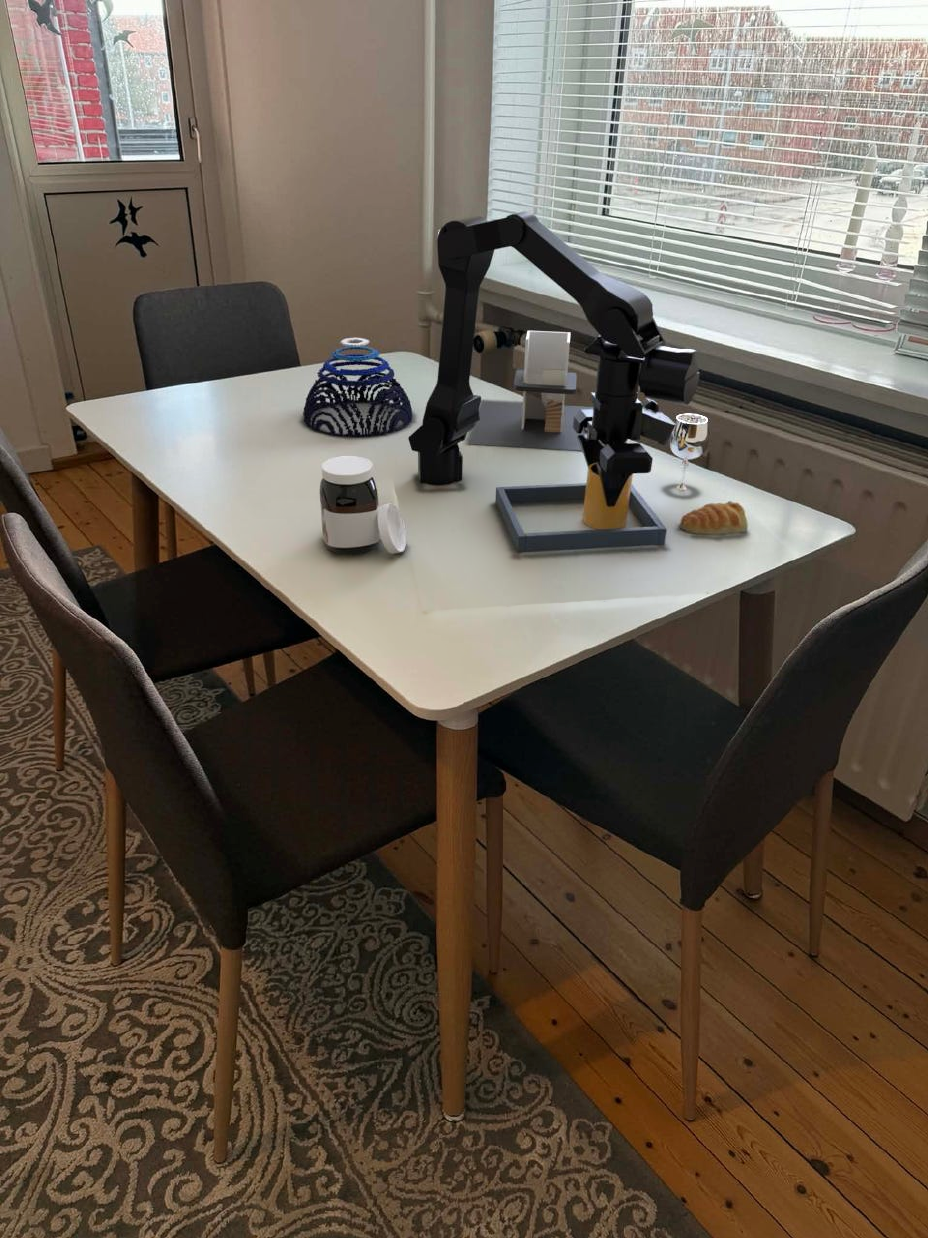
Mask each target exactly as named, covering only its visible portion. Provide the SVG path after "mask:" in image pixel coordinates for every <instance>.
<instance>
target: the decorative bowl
mask: <svg viewBox="0 0 928 1238" xmlns="http://www.w3.org/2000/svg"><path fill="white" fill-rule="evenodd" d="M352 342H353V343H352ZM370 343H371V342H370V340H369V339H367V338H362V337H349V338H347V337H346V338H344V339H341V340H340V342H339V344H341V345H342V346H344V347H341V348H338V349H335V350H333V352H331V356H332V357H331V358H329V359H327V360H326V361H325V362H324V363H323V364H322V367H321V368H320V369H318V372H317V377H318V379H315V382H314V383H313V385H312V386H311V387H310V390H309V391H308V394H307V397H306V398H305V402H304V407H303V412H302V414H303V423H305V425H306V427H307V428H310V429H311V430H313V431H315V432H317V433H322V434H326V435H330V436H333V437H335V436H337V437H345V438H365V437H367V438H369V437H375V436H376V437H377V436H383V435H384V436H385V435H387V434H390V433H395V432H399V431H400V430H403V429H405V428H406V427H407V426H409V425H410V424H411V423H412V421H413V409H412V405H411V400H410V399H409V396H408V395H407V392H406V391H405V389H404V388H403V387H402V385H401V383H400V382H398V381H397V379H396V378H394V377H395V369H393V368H391V366H390V364H389V362H388V361H387V360H386V359H384V358H382V357H380V356H379V355H380V352H379V351H378V350H376V349H374V348H373V347H369V346H366V345H368V344H370ZM350 350H365V351H369V352H370V353H369V354H366V353H365V354H363V353H348V354H342V353H341V352H343V351H350ZM339 360H341V361H340V362H339ZM370 360H375V361H370ZM334 361H336V362H334ZM337 361H338V362H337ZM376 361H378V362H376ZM332 362H333V363H332ZM344 366H345V367H346V366H370V368H361V369H358V368H357V369H348V368H340V369H338V367H344ZM386 370H387V371H388V372H387V373H384V372H385V371H386ZM324 372H328V373H324ZM348 376H351V377H353V376H354V377H357V376H358V379H357V380H348ZM338 378H339V379H338ZM334 385H335V386H337V387H338V389H336V388H335V386H334ZM344 387H345V388H346V389H345V388H344ZM339 391H340V392H339ZM371 391H372V392H371ZM365 392H366V393H365ZM370 392H371V393H370ZM322 393H324V394H322ZM369 393H370V395H369ZM375 393H376V395H375ZM358 395H359V396H358ZM374 395H375V396H374ZM327 399H328V400H329V401H327ZM391 401H392V402H391ZM357 403H370V406H369V408H368V411H367V414H366V418H363V414H362V411H361V410H360V409H359V408H358V405H357ZM338 405H339V407H338ZM379 405H380V406H379ZM376 406H379V407H378V410H377V411H375V410H376ZM327 407H329V408H330V409H332V410H333V411H334V412H335V413H337V417H338V419H339V420H340V421H341V423H342V422H343V427H345V429H343V428H342V426H341V423H340V422H339V420H338V419H337V418H336V417H335V416H334V415H333V413H331V412H327V411H323V410H320V409H322V408H327ZM391 407H393V408H391ZM340 408H341V409H342V411H344V412H345V414H346V415H347V416H348V417H349V421H350V424H351V425H352V428H351V425H349V423H348V420H347V419H346V418H345V416H344V414H343V413H342V412H341V409H340ZM350 408H351V410H352V411H351V410H350ZM389 409H390V410H389ZM398 409H400V410H398ZM318 410H320V411H318ZM395 410H398V411H395ZM316 411H318V412H316ZM315 412H316V413H315ZM375 412H376V413H375ZM314 413H315V414H314ZM393 413H394V414H393ZM313 414H314V415H313ZM386 414H387V415H386ZM322 415H323V416H327V417H330V418H331V420H332V421H333V423H335V426H336V427H337V429H338V433H336V430H335V426H334V425H333V424H332V422H331V421H330V420H326V419H322V418H319V417H320V416H322ZM374 415H375V417H374ZM354 416H355V417H356V419H357V420H359V421H356V420H355V417H354ZM385 416H386V417H385ZM318 418H319V419H318ZM373 418H374V422H373V427H372V420H373ZM384 418H385V419H384ZM364 420H365V421H364ZM400 421H401V422H402V425H401V426H398V425H399V422H400ZM378 424H379V425H378ZM323 425H324V426H325V427H326V429H328V431H325V430H322V429H320V428H322V426H323ZM358 426H359V428H360V429H361V431H359V429H358ZM344 430H346V431H347V433H344Z"/></svg>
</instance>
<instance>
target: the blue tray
mask: <svg viewBox="0 0 928 1238" xmlns="http://www.w3.org/2000/svg"><path fill="white" fill-rule="evenodd" d="M585 491H586V482H580V483H561V484H559V483H558V484H537V485H514V486H496V487H495V504H496V506H497V508H498V510H499V514H500V516H501V518H502V520H503V522H504V525H505V526H506V529H507V531H508V533H509V536H510V538H511V540H512V542H513V545H514V547H515V550H516V553H518V554H521V553H538V552H555V551H573V550H574V551H575V550H593V549H594V550H595V549H611V548H612V549H613V548H628V547H647V546H648V547H649V546H665V544H666V538H667V537H666V536H667V531H668V529H667V527H666V526H665V525H664V523H663V522H662V521H661V520H660V518H659V516H657V514H656V513H655V511H654V510H652V508H651V506H650V505H649V504H648V502H646V500H645V499H644V498H643V496H642V495H641V494H640V493H639V491H638V490H637V488H636V487H635V486H634V485H633V483H632V484H631V491H630V499H629V506H628V507H629V508H630V509H631V510H632V513H634V515H635V516H636V518H637V519H638V520H639V522H640V523H641V524H642V526H639V527H638V526H637V527H622V528H616V529H581V530H563V531H562V530H561V531H543V532H542V531H541V532H540V531H539V532H525V531H524V530H523V527H522V525H521V523H520V521H519V519H518V517H517V515H516V513H515V510H514V509H513V506H512V505H513V504H515V505H516V504H537V503H539V504H540V503H559V502H578V501H579V502H580V501H584V500H585Z"/></svg>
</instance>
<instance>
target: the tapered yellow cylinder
mask: <svg viewBox="0 0 928 1238" xmlns="http://www.w3.org/2000/svg"><path fill="white" fill-rule="evenodd" d="M633 476H634V474H632V475H631V476H630V477H629V478H628V480H627V482H626V483H625V485H624V487H623V490H622V492H621V494H620V496H619V498H618V500H617V502H616V504H615V506H613V507H608V506H607V505H606V501H605V497H604V493H603V489H602V484H601V480H600V476H599V472H598V468H597V464H596V463H593V464H591V465H590V466H589V467H587V473H586V482H585V483H586V491H585V500H583V509H582V510H583V511H582V518H581V519H582V522H583V523H584V524H585V525H586V526H588V527H590V528H592V529H594V530H597V529H616V528H625V527H626V526H627V525H626V524H627V519H628V512H629V507H630V506H629V499H630V491H631V484H632V485H633Z"/></svg>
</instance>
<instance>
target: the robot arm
mask: <svg viewBox="0 0 928 1238" xmlns="http://www.w3.org/2000/svg"><path fill="white" fill-rule="evenodd" d="M509 247H511V248H513V249H515V250H516V251H517V252H518V253H519V254H520V255H522V256H523V257H524V258H525V259H527V261H529V262H530V263H531V264H532V265H533V266H535V267H536V268H537V269H538V270H539V271H541V272H542V273H543V274H544V275H545V276H546V277H548V278H549V279H550V280H551V281H552V282H553V283H555V284H556V285H557V286H559V288H561V289H562V290H563V291H564V292H565V293H567V294H568V296H570V297H571V298H572V299H574V300H575V301H576V303H577V304H578V305H579V306H580V308H581V310H582V311H583V314H584V316H585V318H586V320H587V322H588V323H589V324H590V325H591V327H592V328H593V329H594V330H595V331H596V333H597V334H598V336H596V337H595V339H594V340H593V342H591V344H589V345H588V346H586V347H585V348H584V349H583V353H584V354H586V355H592V356H597V357H598V362H597V372H596V380H595V389H594V392H590V396H589V400H590V402H591V403H592V404H593V407H594V408H593V409H582V410H580V411H578V412H577V413H576V414H575V415H574V421H573V428H574V430H575V431H576V433H577V434H578V433H582V431H583V435H578V436H577V437H578V440H579V443H580V446H581V449H582V454H583V457H584V461H585V463H586V467H587V468H588V467H589V466H590V465H591V464H593V463H596V464H597V468H598V472H599V476H600V480H601V484H602V489H603V493H604V497H605V501H606V505H607V506H608V507H613V506H615V504H616V502H617V500H618V498H619V496H620V494H621V492H622V490H623V487H624V485H625V483H626V482H627V480H628V478H629V477H630V476H631V475H632V474H633V475H634V474H649V473H651V472H652V466H653V461H654V460H653V459H654V458H653V457H652V456H651V454H650V453H649V452H648V451H647V450H646V449H645V447H644V446H643V445H641V442H628V440H630V441H640V440H641V437H644V438H647V439H648V440H652V441H654V442H657V443H658V444H659V445H662V446H666V444H667V443H668V441H669V440H670V436H671V433H672V431H673V429H674V427H675V425H676V424H675V421H673V420H672V419H671V418H670V417H669V416H667V415H666V414H664V413H663V412H661V411H660V409H659V408H660V407H659V406H660V405H659V404H658V403H657V402H656V401H655V400H658V401H659V400H660V401H665V402H670V403H674V404H679V405H685V406H687V405H690V403H691V402H692V400H693V399H694V397H695V394H696V391H697V388H698V384H699V380H700V374H701V373H700V372H699V362H698V360H697V357H698V351H697V350H695V349H690V348H682V349H681V348H675V347H670V346H666V340H665V338H664V335H663V334H662V332H661V330H660V328H659V326H658V324H657V322H656V320H655V318H654V309H653V303H652V301H651V299H650V298H649V297H648V296H647V295H646V294H645V293H644V292H642V291H640V290H638V289H637V288H635V287H633V286H632V285H630V284H627V283H626V282H624V281H621V280H618V279H616V278H612V277H610V276H608V275H606V274H604V273H602V272H600V270H598V269H597V268H596V267H595V266H593V265H592V264H591V263H590V262H589V261H587V260H586V259H585V258H583V256H581V255H580V254H579V253H578V252H576V250H574V249H573V248H572V247H570V245H568V244H567V243H565V242H564V241H563V240H562V239H561V238H560V236H559V237H558V236H557V235H556V234H555V233H554V232H553V231H551V230H550V229H549V228H548V227H546V226H545V225H544V224H543V223H542V222H541V221H540V220H539V218H538V217H537V216H536V214H534V213H532V212H530V211H527V210H526V211H525V210H523V211H520V212H515V213H511V214H509V215H507V216H506V217H502V218H497V219H493V220H488V219H487V218H486V217H483V216H481V215H472V216H468V217H464V218H459V219H454V220H450V221H448V222H446V223H445V224H444V225H443V226H442V227H441V228H440V229H439V230H438V233H437V237H436V253H437V265H438V269H439V271H440V274H441V277H442V279H443V282H444V301H443V311H442V312H443V313H442V324H441V335H440V346H439V359H438V369H437V380H436V384H435V386H434V388H433V389H432V392H431V394H430V396H429V398H428V400H427V402H426V406H425V409H424V413H423V416H422V417H423V418H422V424H421V425H420V426H419V427H418V428H417V429H416V430H415V431H414V432H413V433H411V434H410V435H409V436H408V438H407V439H408V443H409V446H410V449H411V451H413V452H416V453H417V478H418V480H419V484H426V485H430V486H437V487H438V486H447V485H451V484H454V483H458V482H459V481H460V482H461V481H462V480H463V473H464V472H463V468H464V467H463V466H464V464H463V463H464V458H463V457H464V456H463V453H462V452H461V450H460V446H459V443H461V442H464V441H465V440H466V437H467V434H468V433H470V432H471V431H472V430H474V427H475V424H476V422H477V421H479V420H480V417H479V412H480V407H481V403H482V396H481V395H478V394H474V392H473V390H472V387H471V384H470V378H471V370H472V369H471V368H472V359H473V349H474V342H475V341H474V340H475V330H476V322H477V314H478V313H477V312H478V302H479V294H480V287H481V284H482V282H483V281H484V279H485V277H486V276H487V274H488V271H489V269H490V267H491V264H492V261H493V258H494V253H495V250H500V249H504V248H509ZM638 336H639V337H640V338H642V339H640V340H639V337H638ZM639 392H640V393H643V395H644V397H646V398H644V399H643V400H642V401H640V400H639V399H638V393H639ZM653 399H655V400H653ZM583 427H584V430H583Z"/></svg>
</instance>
